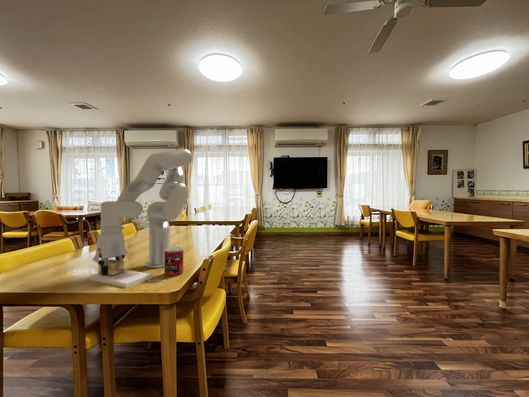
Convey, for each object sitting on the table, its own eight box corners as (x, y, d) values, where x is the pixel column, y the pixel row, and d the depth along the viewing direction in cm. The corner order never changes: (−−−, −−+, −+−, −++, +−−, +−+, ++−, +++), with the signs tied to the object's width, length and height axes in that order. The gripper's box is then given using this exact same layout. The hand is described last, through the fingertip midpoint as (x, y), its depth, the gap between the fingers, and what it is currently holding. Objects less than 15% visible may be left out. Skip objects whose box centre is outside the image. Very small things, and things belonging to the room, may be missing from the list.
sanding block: (110, 270, 107) (110, 259, 107) (124, 272, 103) (124, 261, 103) (98, 273, 102) (98, 261, 102) (112, 276, 99) (112, 264, 99)
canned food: (160, 276, 104) (160, 250, 104) (170, 270, 112) (170, 246, 112) (177, 277, 103) (177, 251, 103) (186, 271, 111) (186, 247, 111)
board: (116, 271, 110) (116, 268, 110) (152, 277, 102) (152, 274, 102) (88, 279, 99) (88, 275, 99) (126, 287, 91) (126, 283, 91)
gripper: (123, 227, 112) (123, 266, 112) (84, 232, 96) (84, 278, 96) (135, 228, 109) (135, 268, 109) (96, 233, 93) (96, 280, 93)
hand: (111, 272), depth 103 cm, fingers closed on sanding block, 5 cm apart
